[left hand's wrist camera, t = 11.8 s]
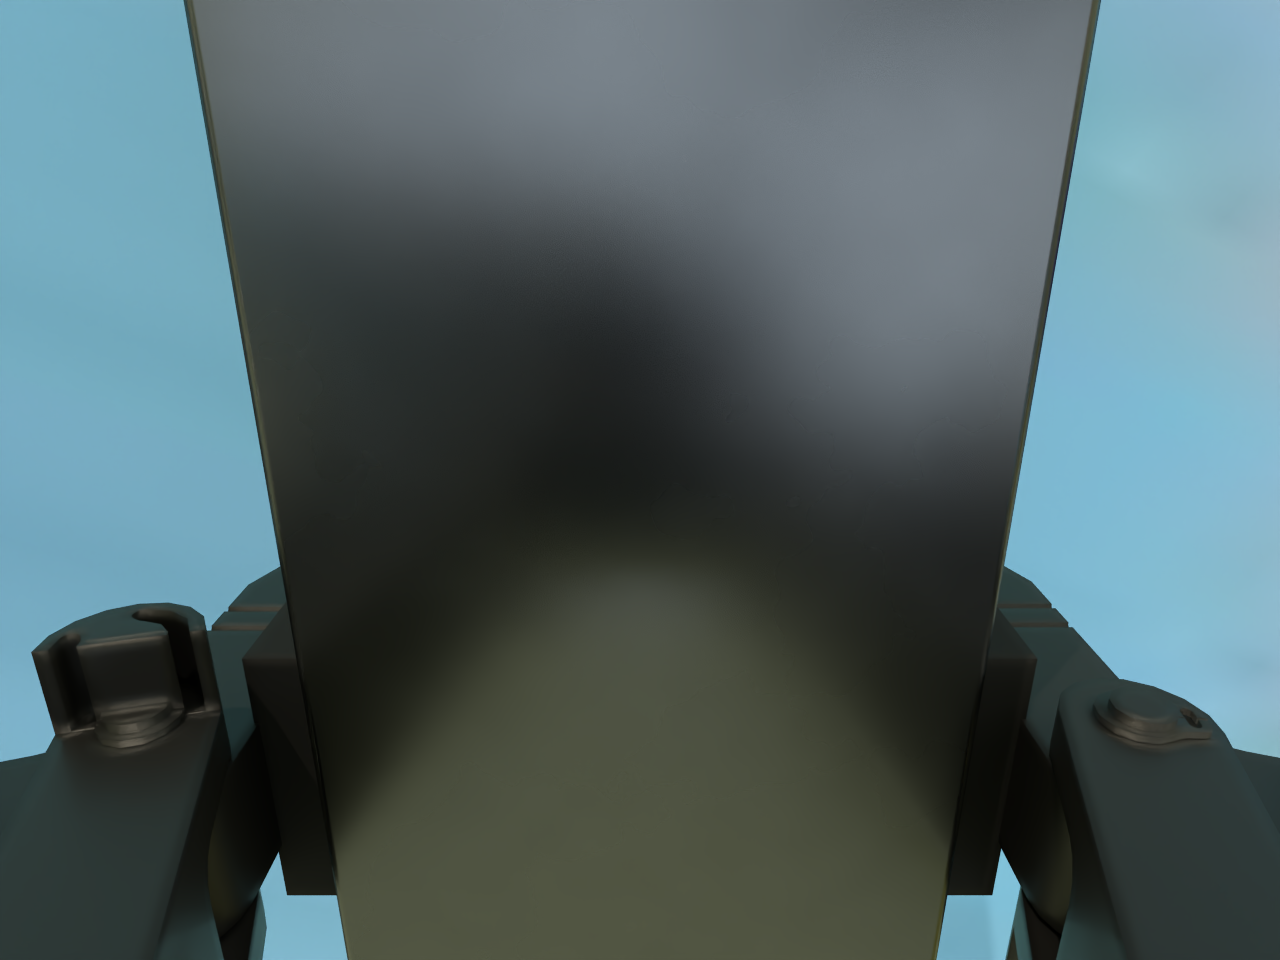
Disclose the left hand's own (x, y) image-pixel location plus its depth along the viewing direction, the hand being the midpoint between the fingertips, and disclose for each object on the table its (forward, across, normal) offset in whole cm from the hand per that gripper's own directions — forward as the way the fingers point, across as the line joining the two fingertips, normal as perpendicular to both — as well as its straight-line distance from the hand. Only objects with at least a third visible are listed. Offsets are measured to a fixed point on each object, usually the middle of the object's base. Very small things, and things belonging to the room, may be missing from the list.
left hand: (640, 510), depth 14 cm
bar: (+1, 0, -10) cm, 10 cm away
